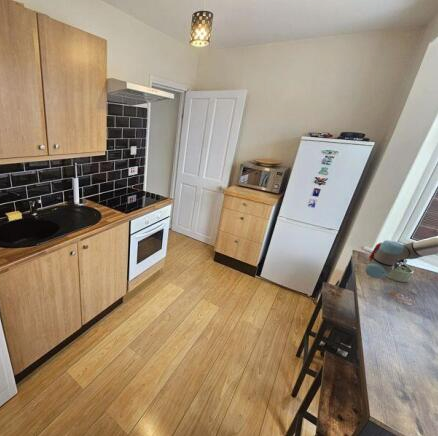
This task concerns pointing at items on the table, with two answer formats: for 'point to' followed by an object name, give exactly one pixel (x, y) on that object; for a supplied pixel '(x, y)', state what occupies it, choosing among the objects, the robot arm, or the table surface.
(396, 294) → the coaster
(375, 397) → the table surface
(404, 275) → the bowl
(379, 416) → the table surface
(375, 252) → the beverage can
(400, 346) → the table surface
